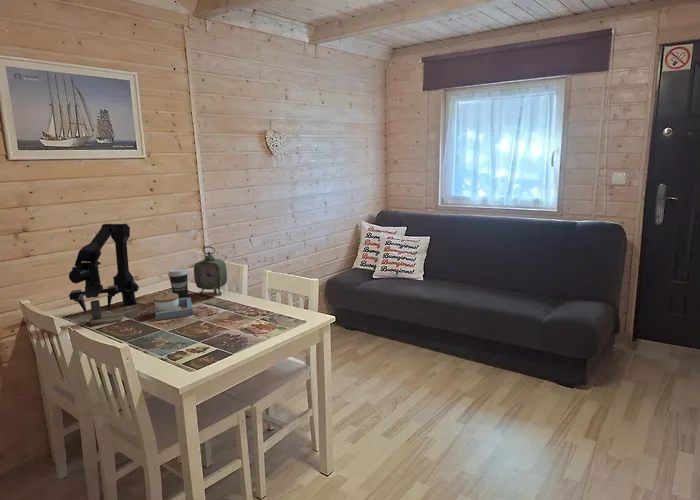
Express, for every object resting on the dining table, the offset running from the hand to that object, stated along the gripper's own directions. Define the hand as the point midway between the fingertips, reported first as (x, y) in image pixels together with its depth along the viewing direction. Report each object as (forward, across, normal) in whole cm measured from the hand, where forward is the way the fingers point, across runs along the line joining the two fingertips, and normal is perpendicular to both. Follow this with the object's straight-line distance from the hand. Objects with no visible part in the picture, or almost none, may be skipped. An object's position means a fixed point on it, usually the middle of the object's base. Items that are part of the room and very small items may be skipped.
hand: (97, 310), depth 210 cm
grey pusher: (+5, +3, 0) cm, 6 cm away
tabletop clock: (+5, +51, +19) cm, 55 cm away
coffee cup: (+5, +35, +17) cm, 39 cm away
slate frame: (+4, +32, -2) cm, 32 cm away
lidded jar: (+5, +29, -3) cm, 29 cm away
